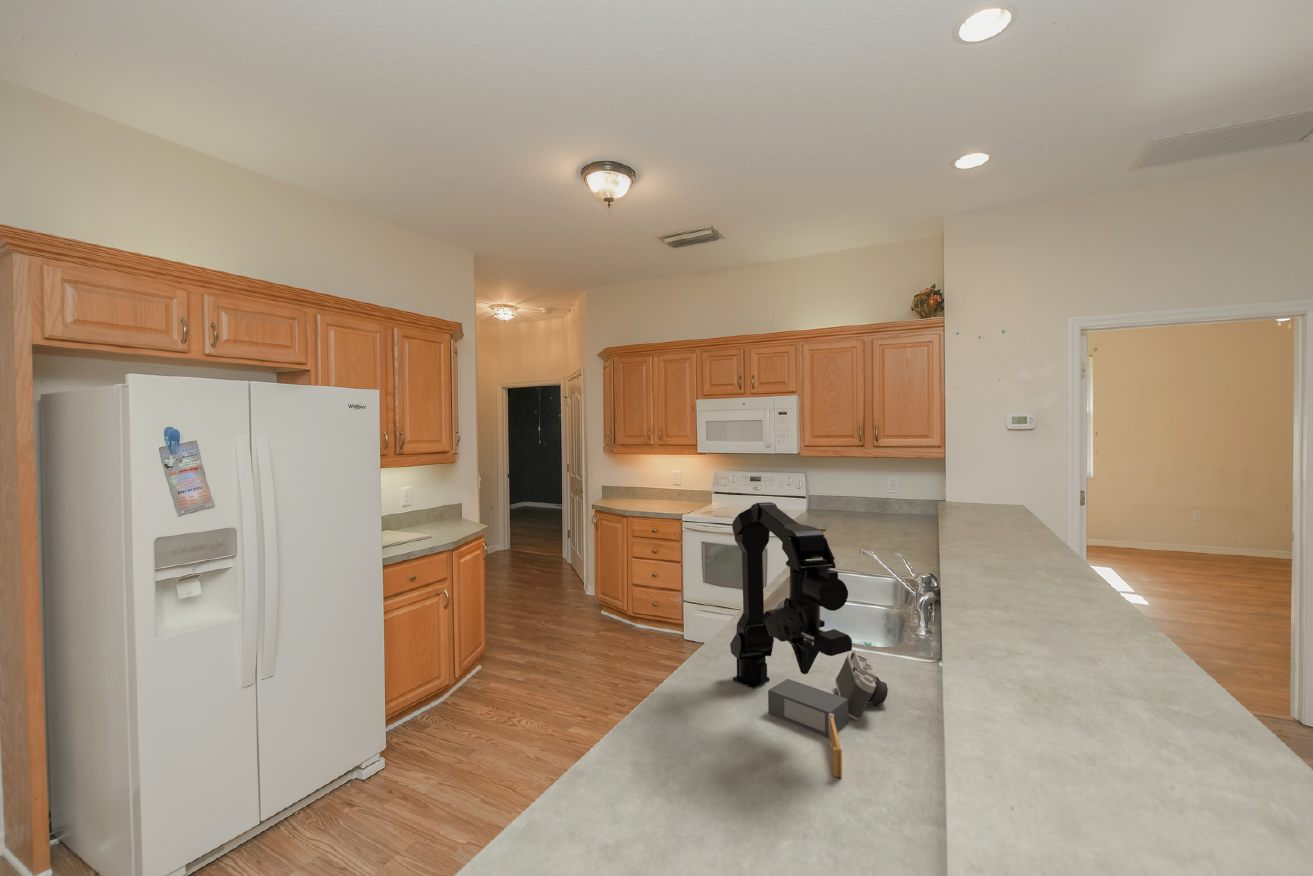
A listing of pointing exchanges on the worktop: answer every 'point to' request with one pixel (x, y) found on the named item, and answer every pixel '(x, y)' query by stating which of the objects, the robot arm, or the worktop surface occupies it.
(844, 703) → the case
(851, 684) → the camera
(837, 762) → the brown rectangular block
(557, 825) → the worktop surface
